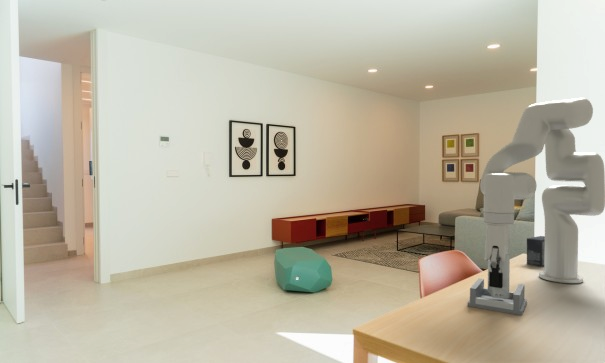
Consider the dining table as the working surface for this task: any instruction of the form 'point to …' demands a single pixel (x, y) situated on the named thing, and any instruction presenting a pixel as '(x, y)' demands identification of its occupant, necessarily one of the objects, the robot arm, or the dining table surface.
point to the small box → (536, 251)
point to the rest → (497, 299)
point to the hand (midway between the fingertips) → (498, 283)
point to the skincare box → (504, 290)
